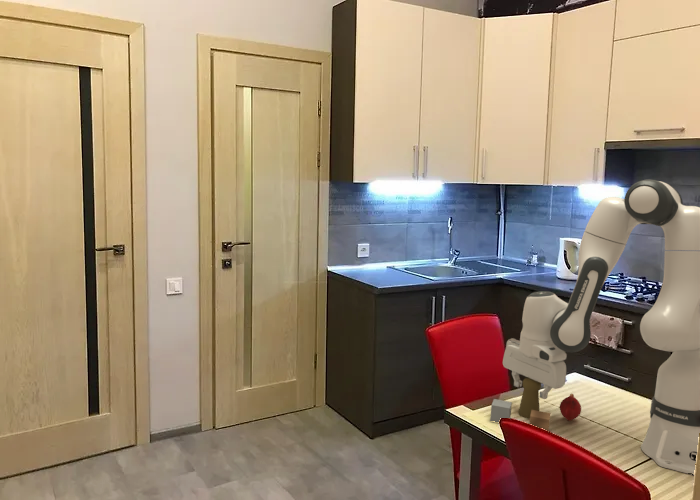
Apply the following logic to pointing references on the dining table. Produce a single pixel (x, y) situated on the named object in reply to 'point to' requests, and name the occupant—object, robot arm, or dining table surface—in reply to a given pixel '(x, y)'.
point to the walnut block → (540, 419)
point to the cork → (529, 397)
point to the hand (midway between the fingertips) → (530, 392)
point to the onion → (570, 408)
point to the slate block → (500, 410)
